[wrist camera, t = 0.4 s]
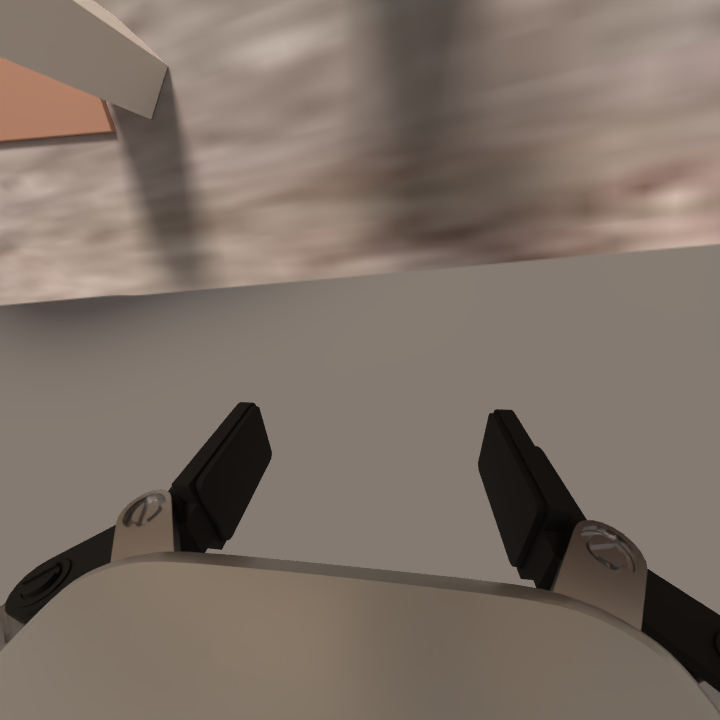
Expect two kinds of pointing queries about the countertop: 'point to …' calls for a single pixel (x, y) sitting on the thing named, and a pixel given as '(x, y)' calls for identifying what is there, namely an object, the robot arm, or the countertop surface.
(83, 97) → the mat
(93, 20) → the milk
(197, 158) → the countertop surface
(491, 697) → the robot arm
